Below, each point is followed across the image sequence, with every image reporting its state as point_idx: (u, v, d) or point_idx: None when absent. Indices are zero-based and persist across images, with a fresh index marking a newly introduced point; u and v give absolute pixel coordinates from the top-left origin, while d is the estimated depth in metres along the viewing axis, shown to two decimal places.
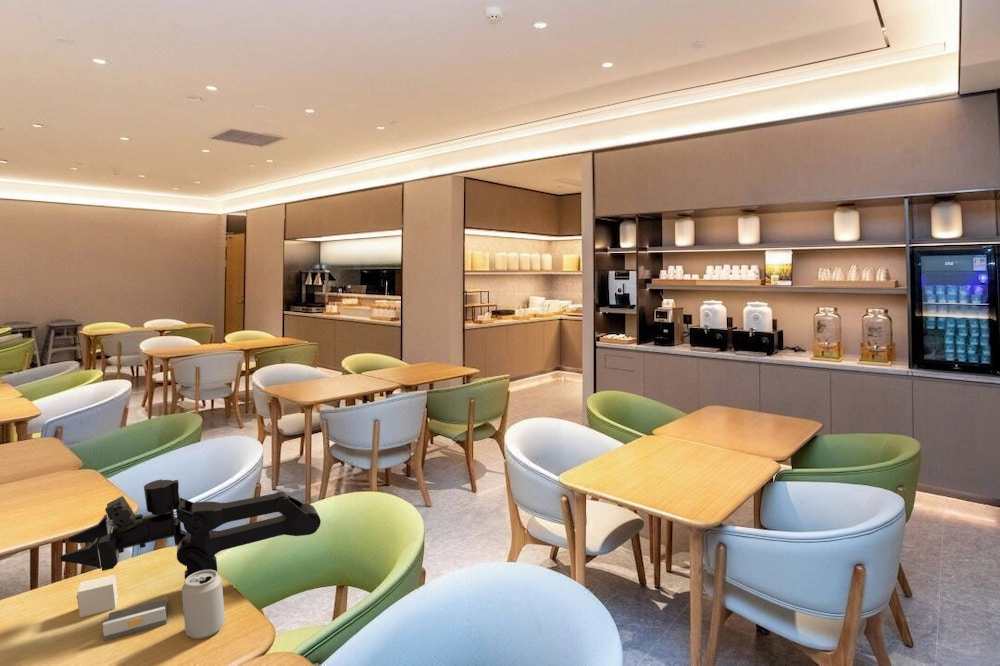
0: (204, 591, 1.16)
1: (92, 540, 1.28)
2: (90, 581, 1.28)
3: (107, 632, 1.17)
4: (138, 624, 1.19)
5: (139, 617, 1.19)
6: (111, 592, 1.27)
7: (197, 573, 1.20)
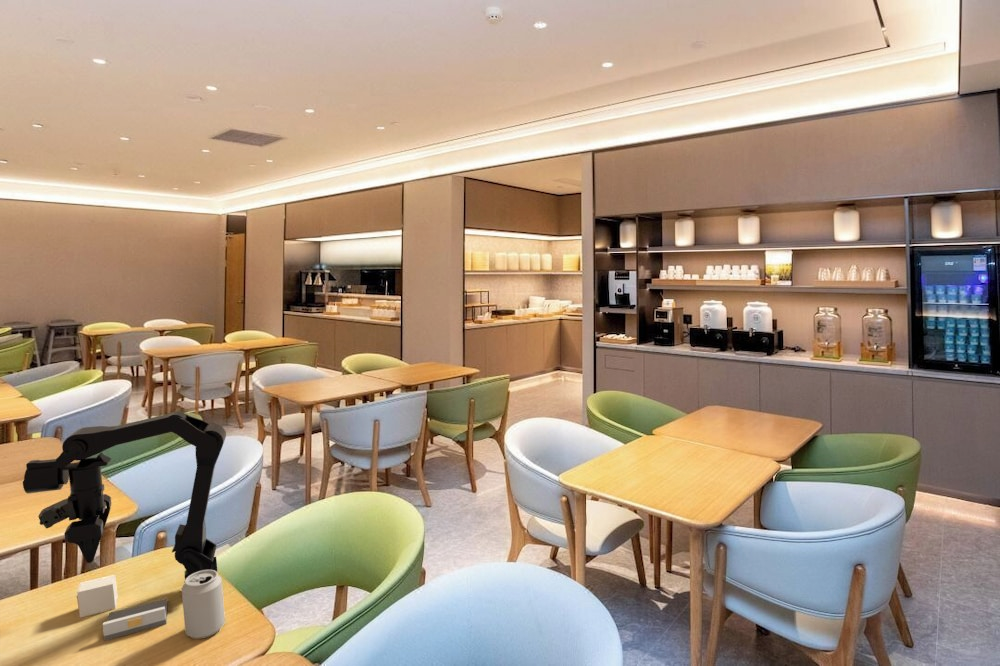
0: (205, 591, 1.16)
1: None
2: (90, 581, 1.28)
3: (107, 632, 1.17)
4: (138, 624, 1.19)
5: (139, 617, 1.19)
6: (111, 592, 1.27)
7: (197, 573, 1.20)
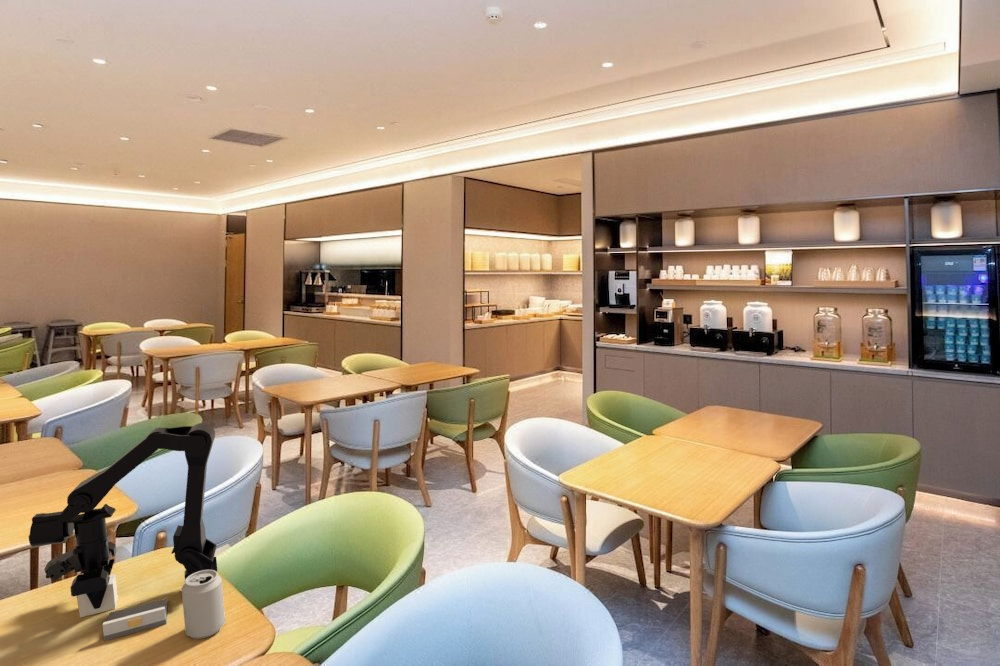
0: (205, 591, 1.16)
1: None
2: None
3: (107, 632, 1.17)
4: (138, 624, 1.19)
5: (139, 617, 1.19)
6: (111, 591, 1.27)
7: (197, 573, 1.20)
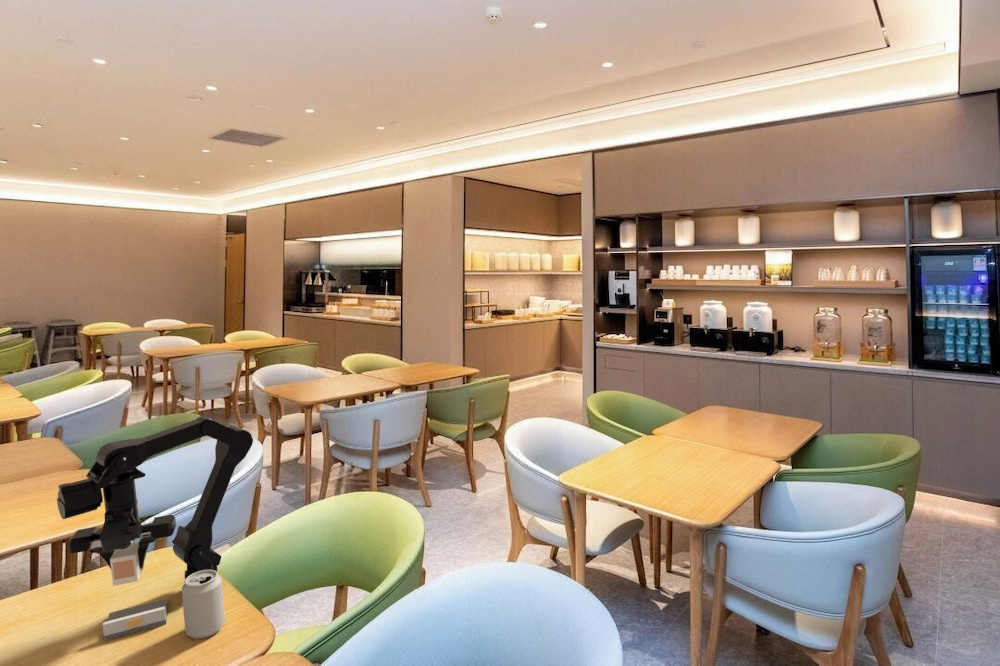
0: (205, 591, 1.16)
1: None
2: (116, 554, 1.21)
3: (107, 632, 1.17)
4: (138, 624, 1.19)
5: (139, 617, 1.19)
6: None
7: (197, 573, 1.20)
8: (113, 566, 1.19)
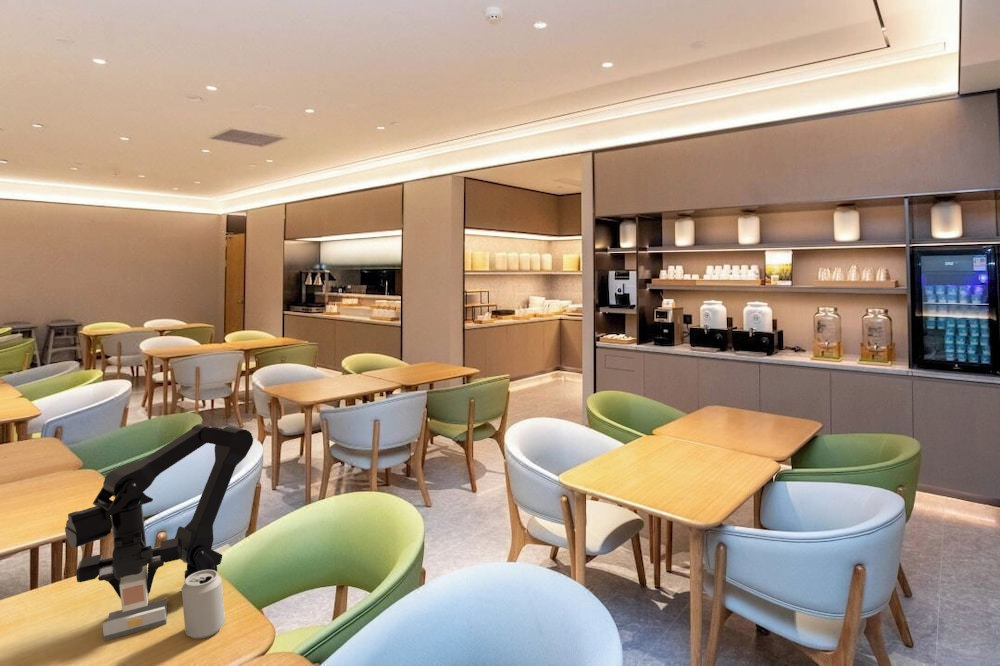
0: (205, 591, 1.16)
1: (120, 578, 1.23)
2: (124, 580, 1.21)
3: (107, 632, 1.17)
4: (138, 624, 1.19)
5: (139, 617, 1.19)
6: (147, 573, 1.26)
7: (197, 573, 1.20)
8: (122, 593, 1.19)
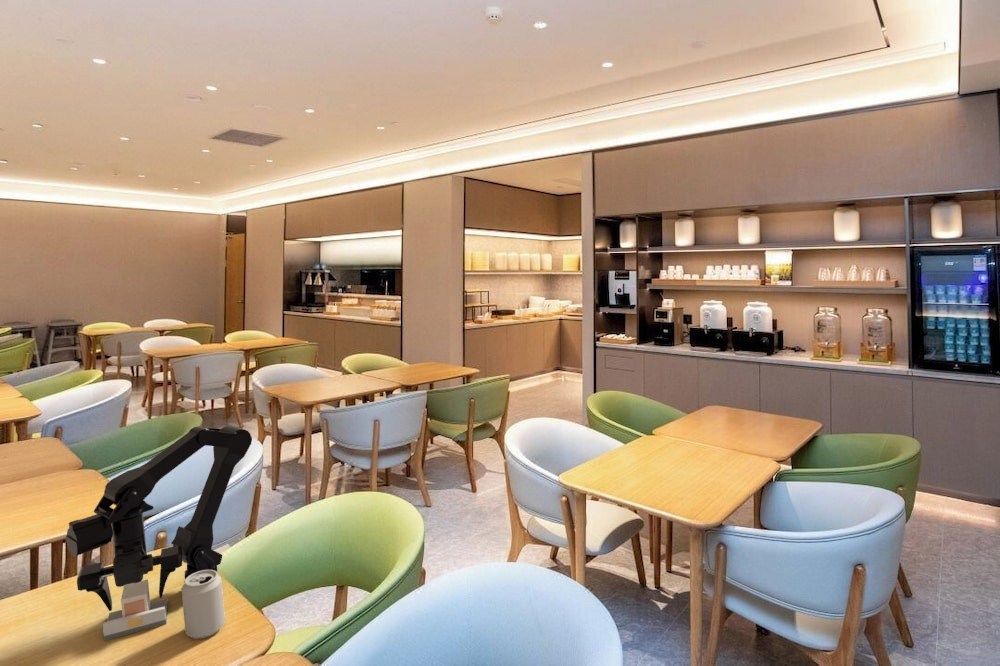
0: (204, 591, 1.16)
1: (108, 588, 1.22)
2: (126, 594, 1.21)
3: (107, 632, 1.17)
4: (138, 624, 1.19)
5: (139, 617, 1.19)
6: (148, 587, 1.27)
7: (197, 573, 1.20)
8: (124, 607, 1.19)
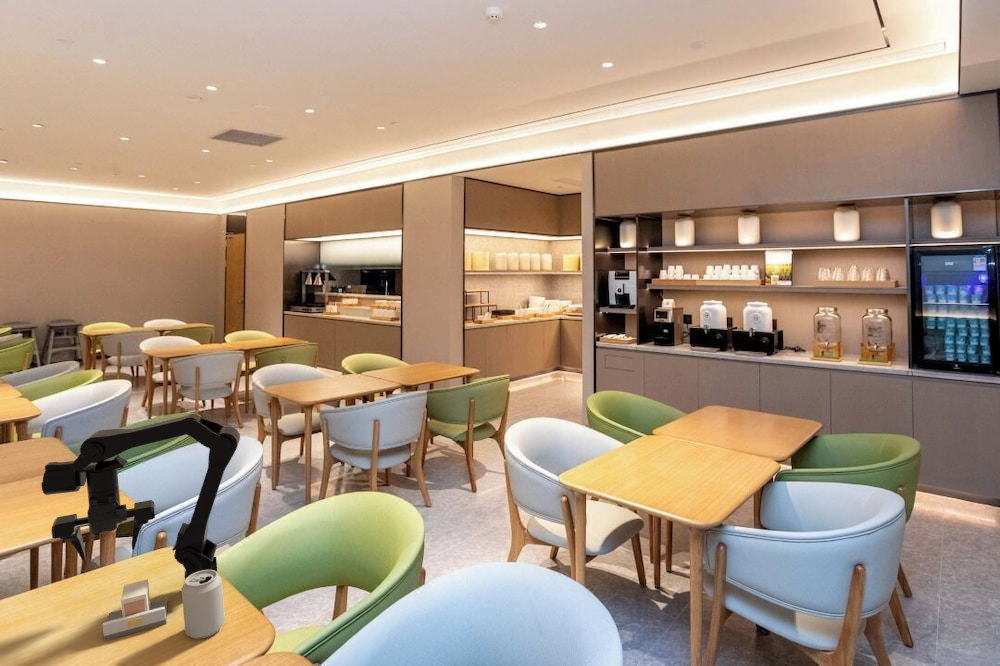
0: (205, 592, 1.16)
1: (82, 539, 1.27)
2: (126, 594, 1.21)
3: (107, 632, 1.17)
4: (138, 624, 1.19)
5: (139, 617, 1.19)
6: (148, 587, 1.27)
7: (197, 573, 1.20)
8: (124, 607, 1.19)
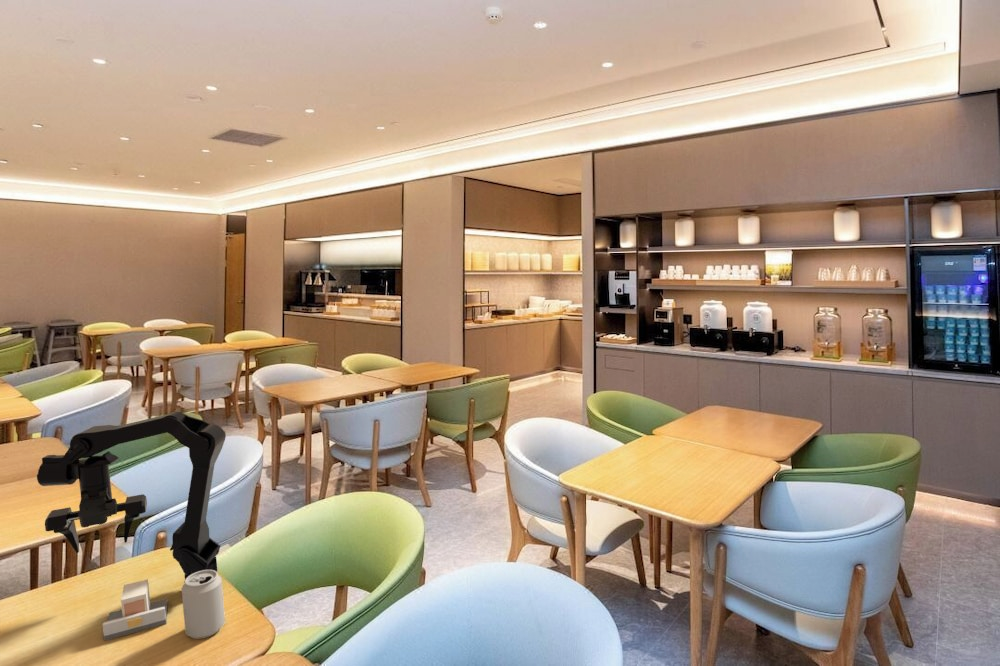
0: (204, 592, 1.16)
1: (76, 532, 1.30)
2: (126, 594, 1.21)
3: (107, 632, 1.17)
4: (138, 624, 1.19)
5: (139, 617, 1.19)
6: (148, 587, 1.27)
7: (197, 573, 1.20)
8: (124, 607, 1.19)
